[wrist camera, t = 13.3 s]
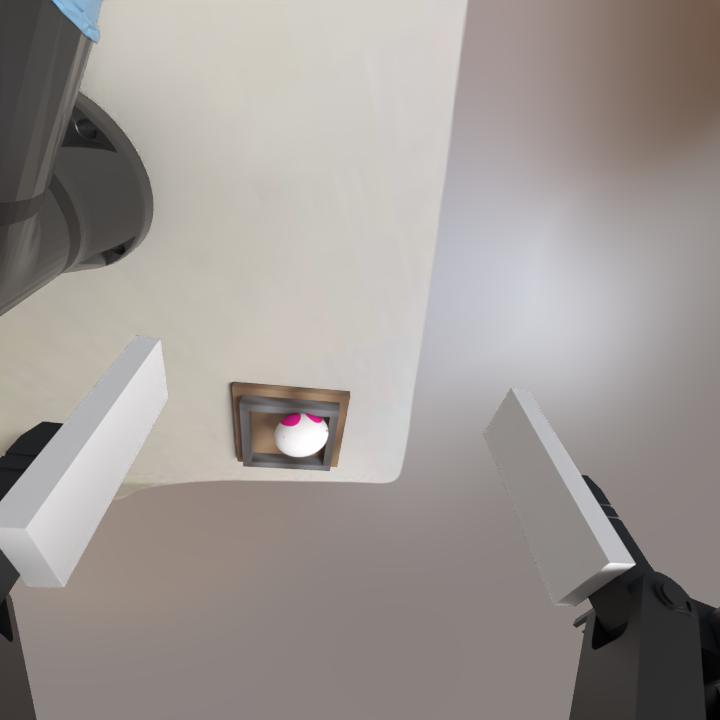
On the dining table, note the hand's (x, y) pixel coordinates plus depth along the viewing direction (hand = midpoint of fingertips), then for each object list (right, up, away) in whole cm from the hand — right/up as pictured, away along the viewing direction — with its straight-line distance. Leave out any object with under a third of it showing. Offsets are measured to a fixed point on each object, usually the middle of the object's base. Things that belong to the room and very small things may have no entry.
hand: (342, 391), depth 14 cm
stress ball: (-9, -8, +40) cm, 42 cm away
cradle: (-10, -9, +41) cm, 43 cm away
